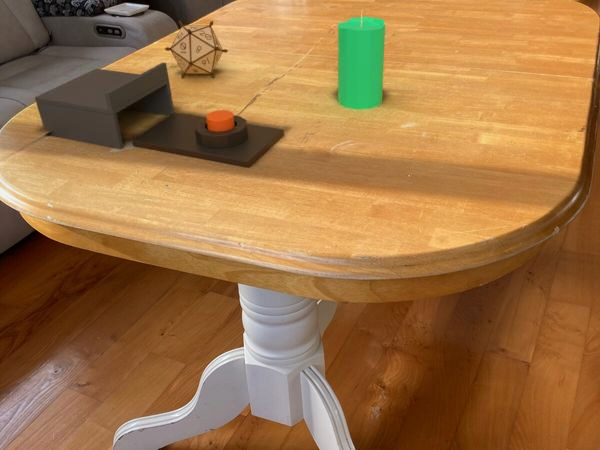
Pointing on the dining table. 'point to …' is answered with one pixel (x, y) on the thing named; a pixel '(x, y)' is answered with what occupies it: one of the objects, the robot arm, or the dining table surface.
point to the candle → (361, 62)
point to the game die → (196, 49)
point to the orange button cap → (220, 120)
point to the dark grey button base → (209, 139)
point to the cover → (103, 104)
